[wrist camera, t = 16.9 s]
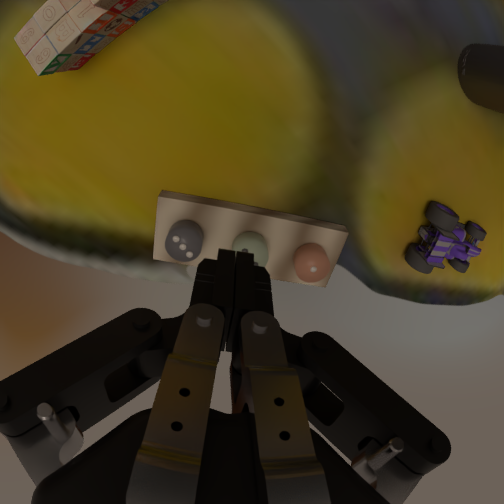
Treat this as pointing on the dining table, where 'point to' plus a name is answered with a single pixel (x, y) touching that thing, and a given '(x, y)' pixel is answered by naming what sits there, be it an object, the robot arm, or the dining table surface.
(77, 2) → the stack of blocks
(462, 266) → the toy race car
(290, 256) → the button board
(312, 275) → the button
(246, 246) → the button
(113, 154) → the dining table surface
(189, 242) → the button
